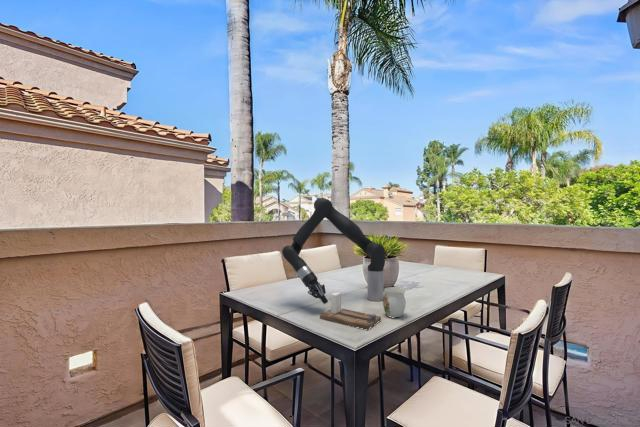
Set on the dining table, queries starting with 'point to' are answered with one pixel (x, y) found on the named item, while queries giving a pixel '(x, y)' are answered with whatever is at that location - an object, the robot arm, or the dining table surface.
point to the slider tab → (335, 302)
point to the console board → (351, 318)
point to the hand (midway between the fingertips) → (326, 302)
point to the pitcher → (394, 301)
